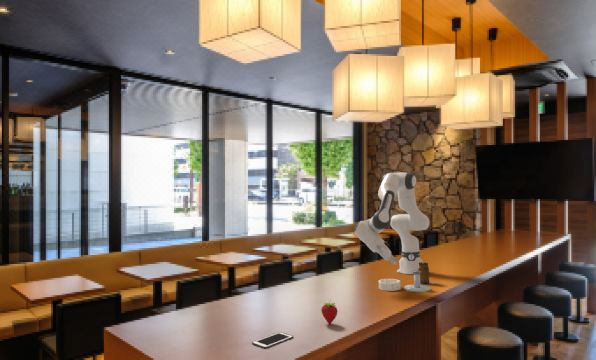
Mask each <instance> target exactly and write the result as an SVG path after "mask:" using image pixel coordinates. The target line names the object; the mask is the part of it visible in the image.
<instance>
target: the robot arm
mask: <svg viewBox="0 0 596 360" xmlns="http://www.w3.org/2000/svg"><path fill="white" fill-rule="evenodd" d="M416 186H417V176H416V175H415V174H414V173H413V172H403V171H402V172H399V171H398V172H388V173H385V174H383V176H382V178H381V184H380V186H379V188H378V191H377V192H378V193H377V196H378V198H379V200H381V202H380V203H381V204H380V206H379V209H378V210H377V211H376V212H375V213H374V215H373V216H372V217H371V218H368V219H367V220H360V221H358V222H357V224H356V225H355V227H354V230H353V232H354V234H355V235H356V237H357V238H359V240H360V241H361V242H363V243H364V244H365V245H366V246H367V248H369V250H370V251H372V252H373V253H377V254H378V255H380V256H381V257H382V258H383V259H384V261H386V262H388V261H389V262H390V263H391V264H392V265H394V266H396V265H397V259H396V258H395V257H394V255H393V254H392V251H391V250H390V248H389V247H388V246H387V245H386V244H385V243H386V241H385V240H384V239H383V238H382V237H381V236H379V234H380V233H382V232H383V231H384V230H386V229H387V228H389V226H390V227H391V228H392V230H394V231H395V232H396V233H397V234H398V236H399V238H400V242H401V253H400V254H401V258H400V259H399V261H398V265H399V268H398V269H397V270H396V273H400V274H406V275H414V273H413V270H418V267H419V262H424V261H423V259H422V258H421V251H420V241H419V238H418V237H417V236H415V235H413V234H412V233H411V231H417V232H418V231H419V232H421V231H424V230H425V231H426V230H428V228H429V227H430V222H431V221H430V219H429V217H428V216H427V215H426V214H425V213H423V212H422V211H421V210H420V209H419V207H418V205H417V201H416V199H417V198H416V194H415V187H416ZM396 197H397V198H398V199H397V201H398V207H399V209H400V210H402V211H404V212H406V213H399V214H394V215H392V214H391V213H392V210H393V209H392V208H393V205H394V201H395V199H396ZM391 215H392V216H391Z"/></svg>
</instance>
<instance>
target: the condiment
mask: <svg viewBox="0 0 596 360" xmlns="http://www.w3.org/2000/svg"><path fill="white" fill-rule="evenodd" d="M418 270H419V271H421V273H420V285H426V286H428V285H429V286H430V285H434V284H435V282H432V281H430V268H429V263H428V262H426V261H423V262H419V267H418Z"/></svg>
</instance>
